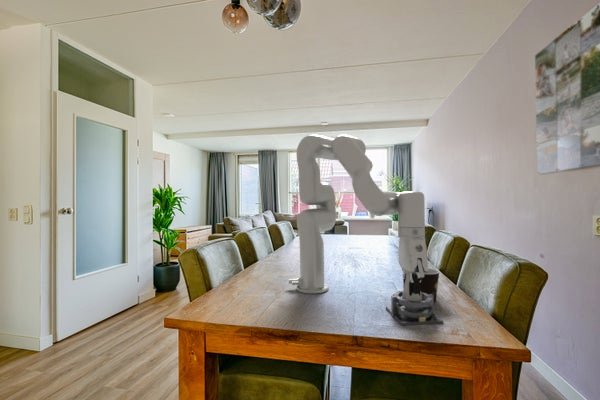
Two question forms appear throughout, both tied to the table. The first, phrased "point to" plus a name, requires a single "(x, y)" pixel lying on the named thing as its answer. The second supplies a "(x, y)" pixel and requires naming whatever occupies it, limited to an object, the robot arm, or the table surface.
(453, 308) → the table surface
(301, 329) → the table surface
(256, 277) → the table surface
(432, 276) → the coffee mug
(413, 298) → the salt shaker
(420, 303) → the collar stand
